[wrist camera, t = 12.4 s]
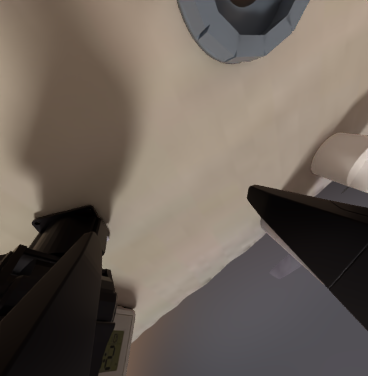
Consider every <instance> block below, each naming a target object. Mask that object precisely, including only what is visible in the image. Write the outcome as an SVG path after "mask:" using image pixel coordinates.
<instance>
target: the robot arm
mask: <svg viewBox="0 0 368 376" xmlns="http://www.w3.org/2000/svg"><path fill="white" fill-rule="evenodd" d="M247 199H248V201H249V202H250V204H251V205H252V206H253V208H254V209H255V210H256V211H257V213H258V214H259V215H260V216H261V218H262V219H263V220H264V221H265V222H266V223H267V224H268V225H269V227H270V228H271V229H272V230H273V231H274V232H275V233H276V234H277V235H278V236H279V237H280V238H281V239H282V240H283V241H284V242H285V244H286V245H287V246H288V247H289V248H290V249H291V250H292V251H293V252H294V253H295V254H296V255H297V256H298V257H299V258H300V259H301V261H302V262H303V263H304V264H305V265H306V266H307V267H308V268H309V269H310V270H311V271H312V272H313V273H314V274H315V275H316V276H317V277H318V279H319V280H320V281H321V282H322V283H323V284H324V285H325V286H326V287H327V288H328V289H329V290H330V291H331V293H332V294H333V295H334V296H335V297H336V298H337V299H338V300H339V301H340V302H341V303H342V304H343V305H344V306H345V307H346V308H347V310H349V312H350V313H351V314H352V315H353V316H354V317H355V318H356V319H357V320H358V321H359V322H360V323H361V324H362V326H364V328H365V329H366V330H367V331H368V208H366V207H361V206H355V205H350V204H345V203H340V202H336V201H331V200H325V199H321V198H316V197H312V196H307V195H302V194H298V193H293V192H288V191H283V190H279V189H274V188H269V187H264V186H259V185H253V186H250V187H249V189H248V195H247ZM88 209H91V210H88ZM38 222H40V223H38ZM32 225H33V226H34V227H35V228H36V229H37V231H38V232H39V234H38V235H37V237H36V238H35V239H34V241H33V242H32V244H31V245H30V247H29V248H27V246H24V245H21V244H20V245H19V246H18V247H17V248H16V249H15V250H14V251H13V252H12V251H10V252H9V253H7V254H4V255H0V376H98V374H99V370H100V366H101V362H102V358H103V355H104V352H105V349H106V346H107V343H108V341H109V339H110V336H111V334H112V332H113V330H114V328H115V322H113V321H114V318H115V314H116V309H117V293H116V292H115V288H114V284H113V279H112V275H111V270H109V269H102V256H103V255H104V253H105V249H106V242H107V241H108V240H109V235H108V229H107V227H106V225H105V224H104V222H103V220H102V218H99V216H98V214H97V212H96V211H95V209H94V207H93V206H91V205H88V206H84V207H79V208H75V209H71V210H67V211H63V212H59V213H55V214H51V215H47V216H43V217H39V218H36V219H34V220H33V221H32Z"/></svg>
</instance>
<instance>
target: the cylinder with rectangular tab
mask: <svg viewBox="0 0 368 376" xmlns="http://www.w3.org/2000/svg"><path fill="white" fill-rule="evenodd" d="M311 171H312V173H313V174H315V175H318V176H321V177H324V178H327V179H329V180H332V181H335V182H338V183H341V184H344V185H346V186H349V187H352V188H355V189H358V190H361V191H363V192H366V193H368V135H359V134H350V133H341V132H339V133H335V134H333V135H332V136H330V137H329V138H328V139H327V140H325V141H324V143H323V144H322V145H321V146H320V147H319V149H318V150H317V152H316V154H315V155H314V157H313V160H312V163H311Z"/></svg>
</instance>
